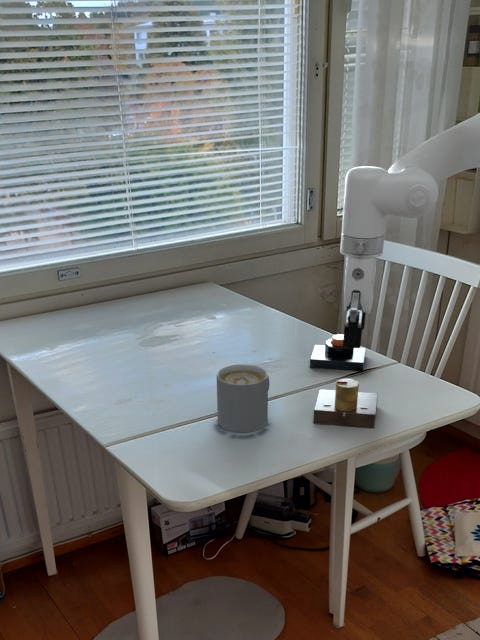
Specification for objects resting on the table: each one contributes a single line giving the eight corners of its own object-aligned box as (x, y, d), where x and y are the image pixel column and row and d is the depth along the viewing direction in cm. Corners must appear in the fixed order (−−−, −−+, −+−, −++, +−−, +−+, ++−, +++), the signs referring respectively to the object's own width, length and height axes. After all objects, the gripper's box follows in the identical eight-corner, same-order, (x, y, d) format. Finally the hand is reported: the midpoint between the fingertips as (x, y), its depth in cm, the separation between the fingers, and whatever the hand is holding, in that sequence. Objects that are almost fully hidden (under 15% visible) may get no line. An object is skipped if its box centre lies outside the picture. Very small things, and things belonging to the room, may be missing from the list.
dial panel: (376, 406, 161) (378, 392, 159) (373, 432, 152) (375, 418, 150) (318, 402, 163) (319, 388, 161) (312, 427, 154) (312, 413, 152)
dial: (357, 402, 156) (359, 377, 153) (356, 412, 152) (358, 387, 149) (335, 401, 157) (337, 376, 154) (333, 410, 153) (335, 385, 150)
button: (348, 341, 181) (348, 334, 180) (346, 347, 178) (347, 340, 177) (332, 340, 182) (333, 333, 181) (331, 346, 179) (331, 339, 178)
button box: (365, 355, 184) (366, 339, 182) (362, 371, 176) (364, 355, 174) (314, 352, 186) (315, 336, 184) (309, 368, 178) (310, 351, 176)
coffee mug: (241, 437, 150) (241, 389, 145) (207, 420, 156) (205, 374, 151) (289, 416, 158) (291, 369, 152) (255, 401, 164) (255, 355, 158)
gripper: (380, 259, 130) (370, 356, 140) (385, 233, 144) (376, 323, 154) (335, 256, 132) (329, 353, 141) (345, 231, 146) (338, 320, 155)
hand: (353, 337), depth 148 cm, fingers open, 9 cm apart
